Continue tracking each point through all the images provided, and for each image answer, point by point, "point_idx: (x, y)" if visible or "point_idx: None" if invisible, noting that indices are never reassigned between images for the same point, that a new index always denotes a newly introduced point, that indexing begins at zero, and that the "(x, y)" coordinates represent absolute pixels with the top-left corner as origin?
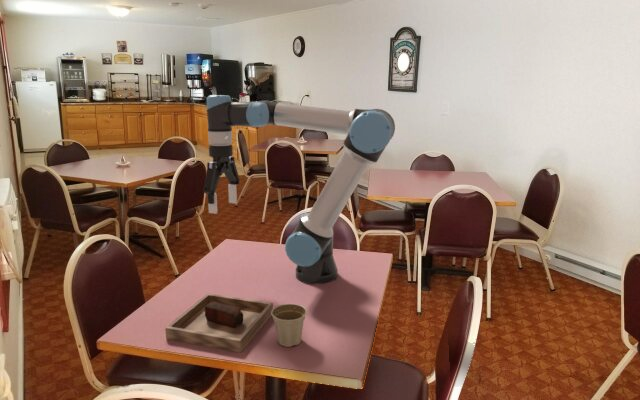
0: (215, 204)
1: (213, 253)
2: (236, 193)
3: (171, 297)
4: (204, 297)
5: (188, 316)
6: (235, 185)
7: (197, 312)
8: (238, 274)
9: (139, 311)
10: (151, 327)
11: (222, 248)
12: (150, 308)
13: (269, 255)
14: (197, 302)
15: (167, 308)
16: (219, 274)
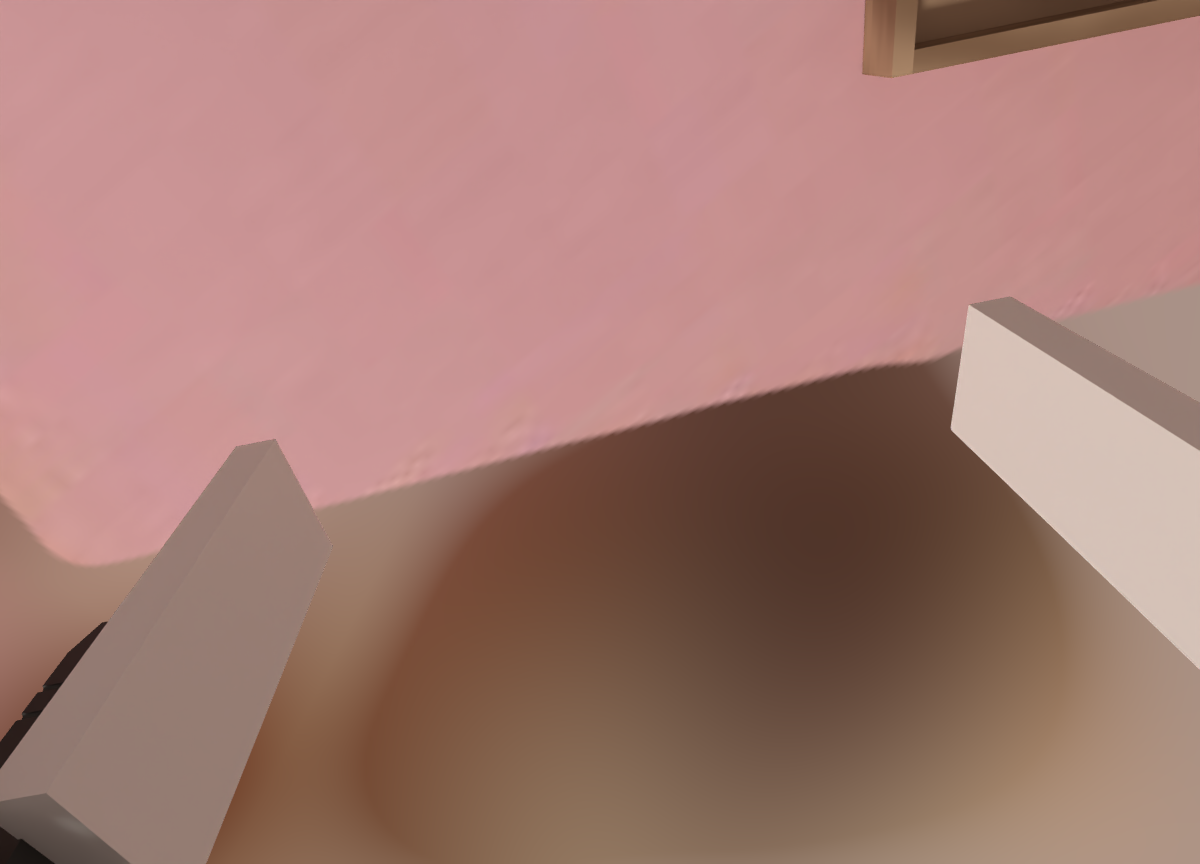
0: (1142, 379)
1: None
2: (145, 578)
3: (852, 309)
4: (951, 53)
5: (1135, 1)
6: (38, 781)
7: (1025, 21)
8: (435, 185)
9: None
10: (1163, 158)
11: None
12: None
13: (23, 202)
14: (1027, 43)
15: (966, 238)
16: (503, 291)
